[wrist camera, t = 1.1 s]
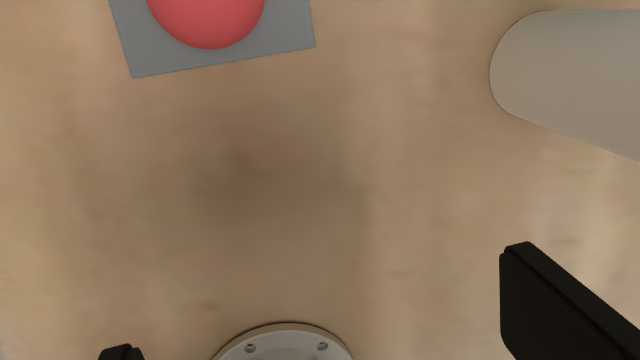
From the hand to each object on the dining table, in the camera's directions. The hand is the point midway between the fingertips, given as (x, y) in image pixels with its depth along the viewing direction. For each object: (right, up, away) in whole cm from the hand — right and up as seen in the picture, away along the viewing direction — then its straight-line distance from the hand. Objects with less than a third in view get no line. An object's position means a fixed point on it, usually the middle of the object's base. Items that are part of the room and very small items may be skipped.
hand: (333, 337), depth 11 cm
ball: (-6, +14, +11) cm, 19 cm away
